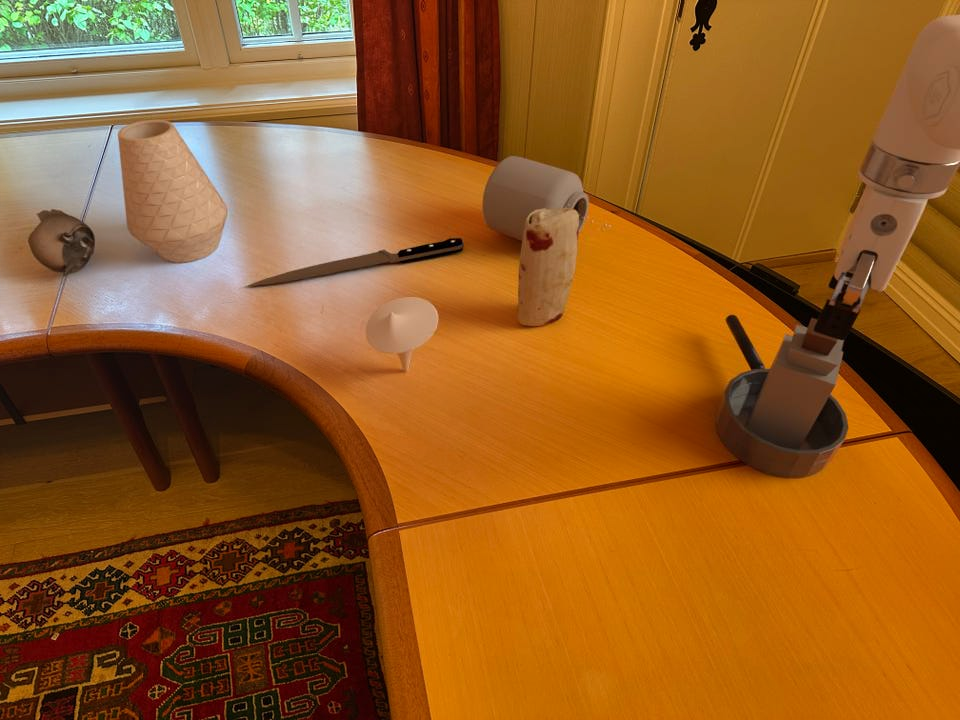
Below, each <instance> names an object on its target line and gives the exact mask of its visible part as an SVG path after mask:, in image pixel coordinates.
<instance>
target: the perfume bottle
mask: <svg viewBox="0 0 960 720" xmlns="http://www.w3.org/2000/svg"><path fill="white" fill-rule="evenodd" d="M817 320H818V318H817V319H816V318H814V317H811V318H810V321H809V324H808V326H807V327H806V326H803V325H800V324H796V326H795V329H794V332H793V335H792V334H788V333H785V335H784V337H783V339H782V341H781V344H780V345H779V348H778V350H777V352H776V355H775V356H774V359H773V361H772V364H771V366H770V368H769V369H770V370H769V372H768V375H767V377H766V379H765V381H764V384H763V386H762V388H761V390H760V392H759V395H758V397H757V399H756V401H755V403H754V406H753V408H752V411H751V414H750V417H749V419H748V422H747V425H746V428H747V429H749V430H750V431H751V432H753V433H754V434H756V435H757V436H759V437H760V438H762V439H764V440H766V441H768V442H771V443H773V444H775V445H778V446H780V447H785V448H790V449H795V450H799V449H800V447H801V445H802V443H803V442H804V440H805V438H806V436H807V435H808V433H809V431H810V429H811V428H812V426H813V424H814V422H815V420H816V419H817V417H818V415H819V413H820V412H821V410H822V408H823V406H824V405H825V403H826V401H827V399H828V397H829V396H830V394H831V395H832V392H833V391H834V389H835V386H836V385H837V381H838V376H839V372H840V367H841V364H842V359H843V355H844V351H842V350H843V347H844V342H845V340H839V339H836V338H833V337H829V336H826V335H823V334H820V333H817V332H815V331H814V327H815V324H816V322H817Z"/></svg>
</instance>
